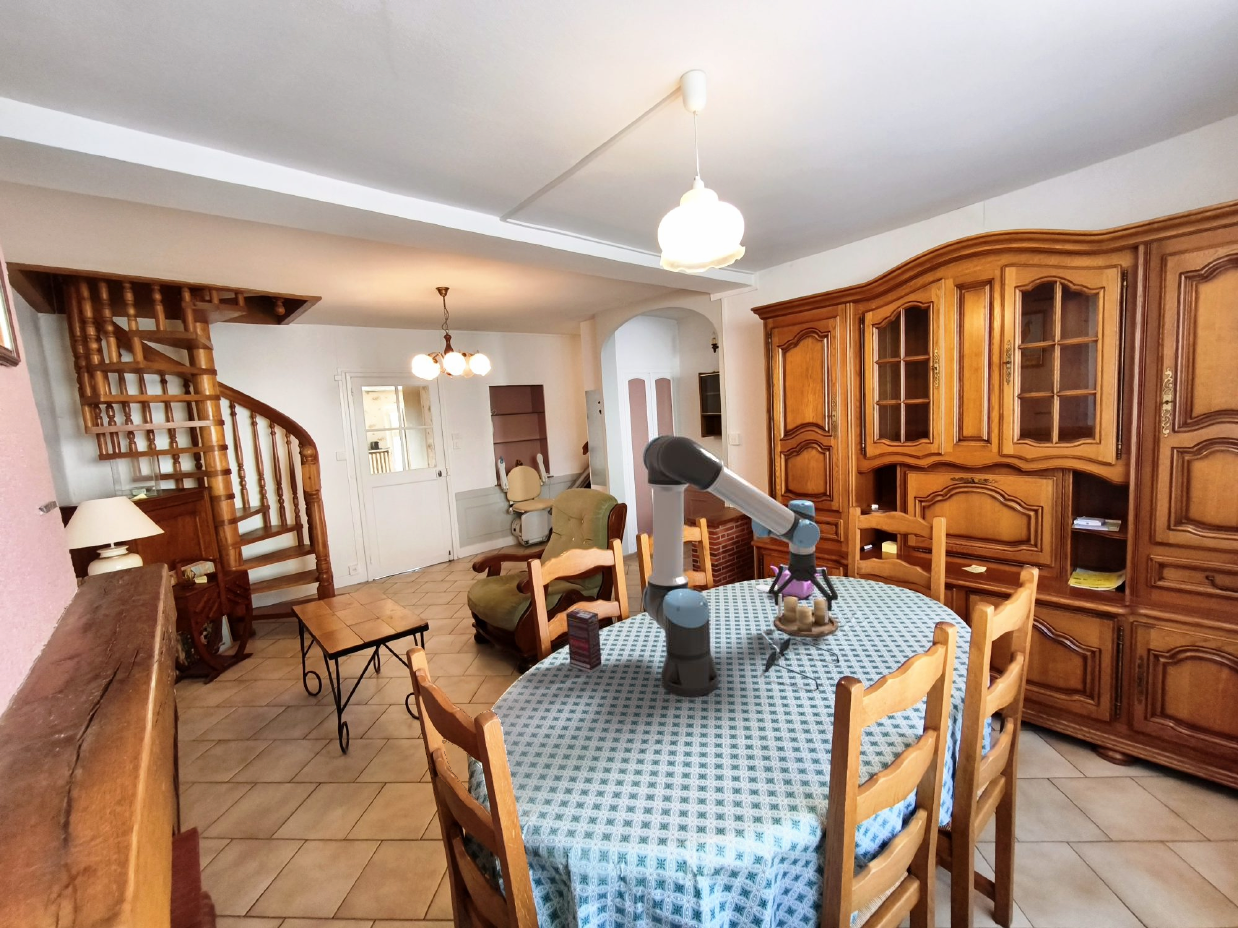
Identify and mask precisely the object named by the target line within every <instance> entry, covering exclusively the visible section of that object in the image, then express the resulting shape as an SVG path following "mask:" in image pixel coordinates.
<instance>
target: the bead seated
mask: <svg viewBox="0 0 1238 928" xmlns="http://www.w3.org/2000/svg"><path fill="white" fill-rule="evenodd" d="M813 611H814V623H815V624H817V625H828V624H829V615H830V611H828V623H827V622H825V598H824V599H823V598H816V599H814V600H813Z"/></svg>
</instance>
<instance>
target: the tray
mask: <svg viewBox="0 0 1238 928" xmlns="http://www.w3.org/2000/svg"><path fill="white" fill-rule="evenodd" d="M811 611H812V632H800V631H797V622H787V621H785V620H784V611H782V616H781V617H778V614H777V615H776V616H775V617H774V626H775V627H776V628H777V629H778V630H779V631H782V632H784V633H786V634H788V635H792V636H796V637H802V638H803V637H804V638H821V637H827V636H830V635H832V634H835V633H836V632H837V631H838V630H839V623H838V620H837V619H836V618H834V617H833V616H832V615H830V614H829V624H828V625H817V624H815V623H814V610H811Z"/></svg>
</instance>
